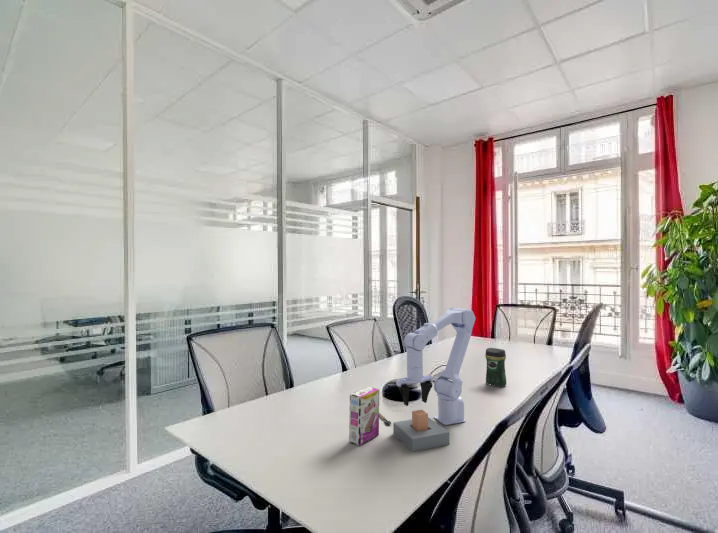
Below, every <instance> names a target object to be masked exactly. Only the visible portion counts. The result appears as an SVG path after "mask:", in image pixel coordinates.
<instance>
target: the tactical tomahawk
mask: <svg viewBox="0 0 718 533" xmlns="http://www.w3.org/2000/svg"><path fill="white" fill-rule="evenodd" d="M379 419H381V421H382V422H383V423H385V424H387V425H392V421H390V420H388V419H386V417H385V416H383V415H382V414H381V413H380V412H379Z"/></svg>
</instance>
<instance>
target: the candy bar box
mask: <svg viewBox="0 0 718 533" xmlns="http://www.w3.org/2000/svg"><path fill="white" fill-rule="evenodd" d="M379 413H380V389H379V388H376V387H375V388H374V387H371V386H367V387H365V388H363V389H360V390H358V391H354V392H353V393H349V428H348V429H349V435H348V436H349V438H348V442H349V443H351V444H354V445H356V446H357V447H361V446H362V445H364V444H365V443H367V442H370V440H373V439H374V438H376V437H378V436H379V435H380V417H379Z"/></svg>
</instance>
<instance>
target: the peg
mask: <svg viewBox="0 0 718 533" xmlns="http://www.w3.org/2000/svg"><path fill="white" fill-rule="evenodd" d="M428 418H429V413H428V412H426V411H425V410H424V409H417V410H412V411H411V419H412V428H413V429H415V430H416V431H417V432H419V431H424V430H428Z"/></svg>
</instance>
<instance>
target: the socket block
mask: <svg viewBox="0 0 718 533" xmlns="http://www.w3.org/2000/svg"><path fill="white" fill-rule="evenodd" d="M392 424H393V428H392V429H393V432H392V433H393V435H394V436H395V438H397V439H398V440H399V441H400V442H402V443H403V444H404V446H406V447H407V448H408V449H409V450H410V451H411V452H417V451H423V450H426V449H427V450H428V449H432V448H437V447H441V446H442V447H443V446H448V445H450V431H449V430H447V429H445V428H444V427H443V426H442V425H440V424H438V423H437V422H435V421H434V420H432V419H431V418H430V417H428V430H424V431H419V432H417V431H416V430H415V429H413V428H412V418H411V419H405V420H400V421H394V422H393V423H392Z"/></svg>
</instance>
